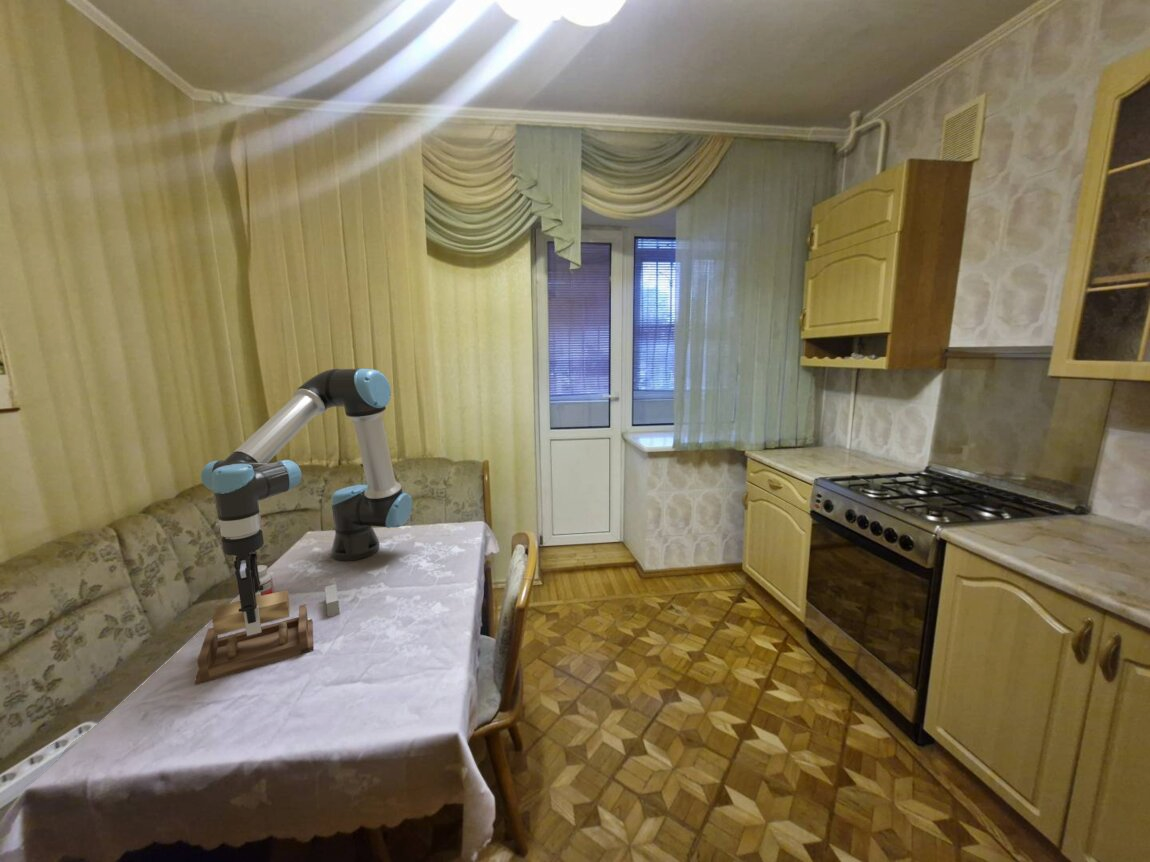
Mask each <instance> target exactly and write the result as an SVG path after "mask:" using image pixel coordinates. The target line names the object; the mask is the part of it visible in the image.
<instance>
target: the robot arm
mask: <svg viewBox="0 0 1150 862" xmlns="http://www.w3.org/2000/svg"><path fill="white" fill-rule="evenodd" d="M391 390H392V389H391V385H390V382H389V381H388V379H387V377H386V376H385V375H384V373H381V371H379V370H377V369H372V368H371V369H369V368H365V367H364V368H363V367H362V368H331V369H327V370H324V371H322V372H320V373H317V374H316V375H314V376H312V377H311V378H310V379H308V380H307V381H305V382H304V383H302V384H301V385H300V386H299V387H298V388H297V389H296V390H294V392H293V393H292V399H290V400H289V401H288V402H286V404H285V405H284V406H282V408H280V409H279V410H278V411H277V412H276V413H274V415H273V416H272V417H270V418H269V419H268V420H267V421H266V422H265V423H263V425H262V426H261V427H259V428H258V429H257V430H256V431H255V432H253V434H251V436H250V437H249V438H247V439H246V440H245V441H244V442H243V443H242V444H241V445H240V446H238V447H237V448H236V449H235V450H233V452H232V453H230V454H229V455H228V456H227V457H226V458H225V459H224V460H222V459H221V460H220V459H219V460H213V461H211V462H208V463H207V464H206V465H205V466H204V467H203V469H202V471H201V474H200V480H201V483H202V484H203V486H204V487H205V488H207V489H208V490H211V491H212V492H213V497H214V503H215V507H216V508H215V509H216V513H217V519H218V521H217V522H216V523H215V527H217V528H218V527H219V531H220V536H221V537H222V538H221V539H220V541H221V547H222V552H223V554H224V555H227V556H234V557H235V558H234V559H235V560H234V561H233V566H234V569H235V572H234V575H235V576H236V577H235V578H236V581H237V587H238V595H239V601H240V603H241V608H240V609H239V612H243V613H244V619H245V626H246V628H245V631H246V632H247V636H249V635H253V634H257V633H261V632H262V629H261V627H262V624H261V623H260V616H259V609H258V605H257V604H256V597H259V596H261V593H260V592H258V591H260V590H263V586H259V585H260V580H259V574H258V567H257V566H258V565H259V564H258V553H257V552H256V551H258V550H259V549H261V548H262V547H263V546H264V543H265V541H264V535H263V530H262V518H261V512H260V508H259V507H260V506H259V504H260V503H259V501H263V500H265V499H268V498H271V497H274V496H277V495H279V494H282V493H286V492H289V491H290V490H292V489H294V488H296V487H298V486H299V484H301V481H302V476H303V475H302V471H301V469H300V467H299V465H298V464H297V463H296V462H294V461H292V460H290V459H283V460H277V461H275V462H271V463H269V462H270V461H271V460H272V459H273V458H274V457H275V456H276V455H277V454H278V453H279V452H280V451H281V450H282V449H283V448H284V447H285V446H286V445H287V444H288V443H289V442H290V441H291V440H292V439H293V438H294V437H296V435H297V434H298V433H299V432H300V431H301V430H303V428H305V426H306V425H307V424H308V423H309V422H310V421H311V420H312V419H313V418H314V417H315V416H320V415H322V414H323V413H325V411H327V410H328V409H330V408H334V407H342V408H343V409H344V412H345V413H344V414H345V416H346V417H347V418H349V419H350V420H352V422H353V429H354V432H355V437H356V440H357V444H358V450H359V453H360V459H361V462H362V463H361V464H362V467H363V472H364V476H365V480H366V484H355V485H350V486H347V487H343V488H340V489H338V490H336V491H334V493H332V495H331V509H332V514H333V524H334V530H335V531H334V532H335V534H334V539H333V543H332V547H331V556H332V558H333V559H334V560H336V561H342V562H345V561H346V562H347V561H348V562H349V561H355V560H356V561H357V560H361V559H364V558H367V557H370V556H372V555H374V554H375V553H377V552H378V551H379V549H380V540H379V538H378V536H377V534H376V532H375V529H374V527H382V528H387V529H391V528H396V529H397V528H400V527H402V526H403V525H404V524H406V523H407V521H408V520H409V518H410V516H411V513H412V509H413V499H412V496H411V494H409V493H407V492H403V487H402V485H401V483H400V482H398V481H396V478H395V472H394V468H393V462H392V458H391V453H390V448H389V442H388V439H387V433H386V432H387V431H386V429H385V423H384V417H383V414H384V413H385V411H386V410H387V407H386V406H387V405H388V404H390V400H391V397H390V396H391V395H392V391H391Z"/></svg>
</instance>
